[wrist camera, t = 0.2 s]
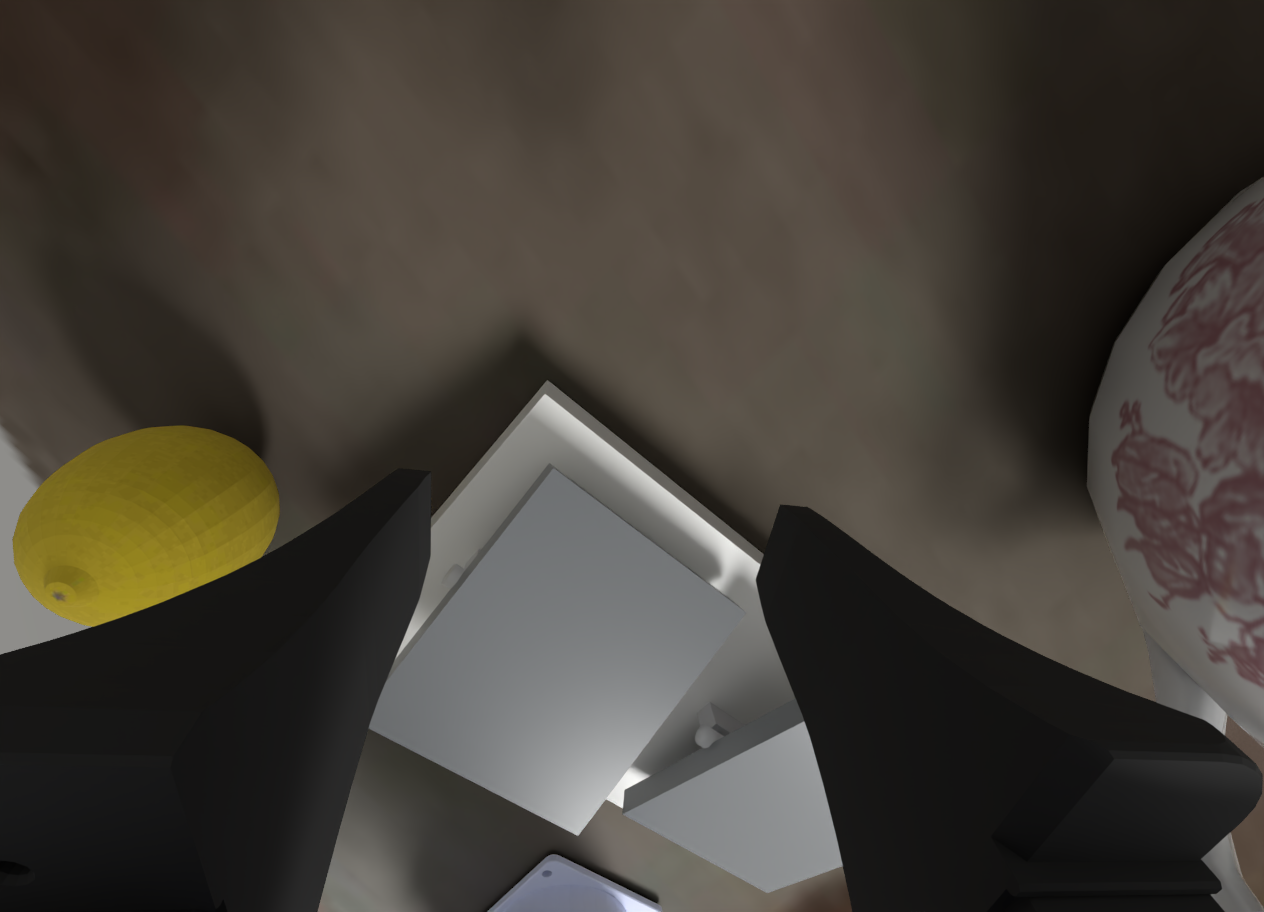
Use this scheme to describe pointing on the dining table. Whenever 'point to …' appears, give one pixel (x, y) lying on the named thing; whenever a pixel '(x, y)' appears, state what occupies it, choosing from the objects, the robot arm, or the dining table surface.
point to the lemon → (144, 522)
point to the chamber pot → (1194, 481)
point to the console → (660, 509)
